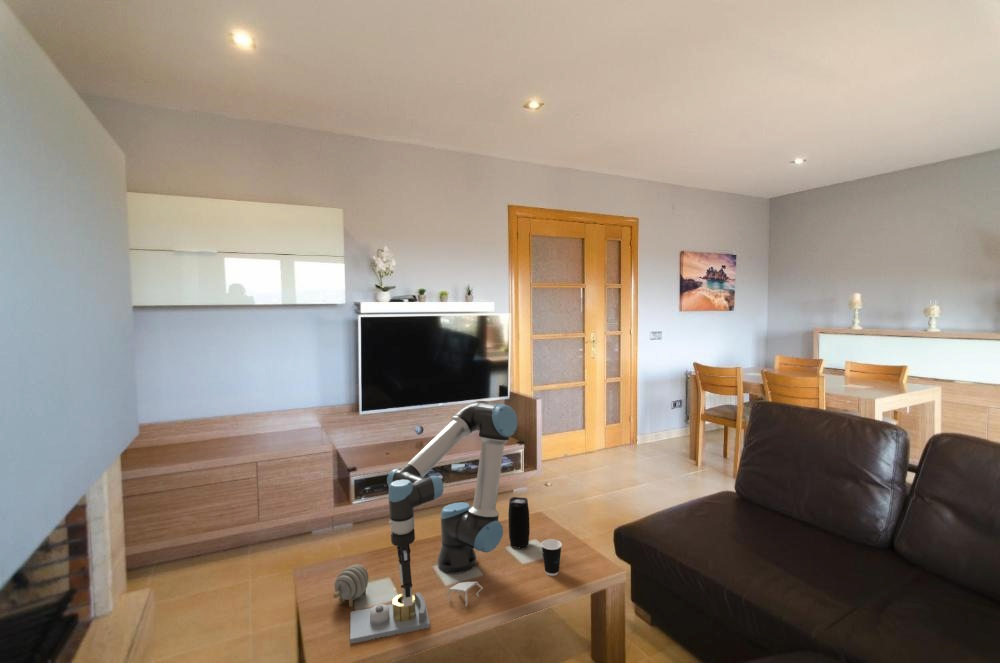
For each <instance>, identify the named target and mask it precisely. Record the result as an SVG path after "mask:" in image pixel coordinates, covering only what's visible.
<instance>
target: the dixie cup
mask: <svg viewBox="0 0 1000 663" xmlns="http://www.w3.org/2000/svg"><path fill="white" fill-rule="evenodd" d="M540 546H541V550H542V558H543V567H544V571H545V574H546V575H548V576H551V577H555V576H557V575H558V574H559V572H560V566H561V565H560V564H561V554H562V553H561V551H562V546H563V543H562V542H561V541H559V540H557V539H553V538H548V539H545V540H543V541H541V543H540Z"/></svg>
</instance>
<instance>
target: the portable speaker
mask: <svg viewBox="0 0 1000 663" xmlns="http://www.w3.org/2000/svg"><path fill="white" fill-rule="evenodd" d="M530 531H531V530H530V509H529V503H528V498H527V497H519V496H513V497H510V498H509V501H508V538H509V542H510V547H511V548H514V547H515V548H518V549H520V550H524V549H526V548H529V544H530V543H529V542H530Z"/></svg>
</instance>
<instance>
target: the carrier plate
mask: <svg viewBox="0 0 1000 663" xmlns="http://www.w3.org/2000/svg"><path fill="white" fill-rule="evenodd" d="M414 597H415V612H416V615H415V616H414V617H413V618H412V619H411V620H409V621H404V622H401V621H400V622H399V621H396V620H394V619H393V603H391V604H381V603H380V604H376V605H374V606H372V607H370V608H365V609H364V608H363V609H359V610H354V611H353V610H352V611H350V621H349V622H350V624H349V625H350V628H349V631H350V633H349V641H350V643H349V644H352V643H353V644H357V643H362V642H366V641H371V639H372V640H376V639H375V638H377V639H381V638H380V637H382V638H386V637H391V636H395V635H396V634H397V635H401V634H405V633H411V632H416V631H421V630H425V628H426V629H430V627H431V622H430V617H429V614H428V610H427V605H426V600H425V598H424V596H423V595H422V594H421V592H419V591H418V592H416V593H414ZM420 629H421V630H420ZM385 636H386V637H385Z"/></svg>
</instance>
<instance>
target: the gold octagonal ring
mask: <svg viewBox="0 0 1000 663" xmlns="http://www.w3.org/2000/svg"><path fill="white" fill-rule="evenodd" d="M402 600H403V593H399V594H397V595H396V596H395V597H393V598H392V604H393V619H394V620H396V621H399V622H400V621H401V622H404V621H409V620H411V619H412V618H413V617H414V616H415V615H416V612H415V594H412V602H413V605H411V606H406V607H404V603H402Z"/></svg>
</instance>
